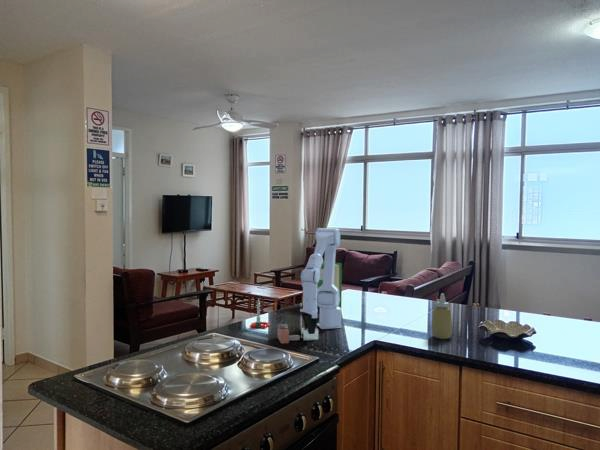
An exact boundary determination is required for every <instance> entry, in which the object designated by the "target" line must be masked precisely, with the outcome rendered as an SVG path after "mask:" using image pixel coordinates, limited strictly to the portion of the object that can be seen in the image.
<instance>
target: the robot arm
mask: <svg viewBox="0 0 600 450" xmlns="http://www.w3.org/2000/svg"><path fill="white" fill-rule="evenodd" d="M314 235H315V240H316V244H315V249H314V251H313V253H312V254H311V255H310V256H309V258H308V262H307V263H306V266H305V268H304V269H302V270H301V273H300V281H301V287H302V308H300V309H299V312H300V315H301V318H302V320H303V324H304V328H308V332H309V334H314V333H315V329H316V328H317V327H319V328H320V329H321V330H328V329H329V330H331V329H342V327H343V326H342V308H341V309H340V307H339V306H338V305H339V302H340V295H339V289H338V288H337V287H335V286H334V271H335V263H336V255H337V249H338V248H339V247H340V244H341V231H340V229H339V228H338V227H334V228H333V227H332V228H331V227H329V228H327V227H323V228H322V227H317V229H316V231H315V233H314ZM323 256H324V258H323ZM323 261H324V274H323V285H321V286H320V287H319V288H318V289H317V283H318V282H319V279H320V268H321V265H322V263H323ZM323 291H332V292H323ZM317 305H318V307H317ZM318 308H319V310H318ZM318 312H319V315H318Z"/></svg>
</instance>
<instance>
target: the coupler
mask: <svg viewBox="0 0 600 450" xmlns="http://www.w3.org/2000/svg"><path fill="white" fill-rule="evenodd" d="M300 338H301V336H300V335H299V334H292V335H291V334H290V330H289V324H287V323H281V324H280V323H279V324H278V325H277V339H278V340H279V342H280V344H289V343H290V341H300Z"/></svg>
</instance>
